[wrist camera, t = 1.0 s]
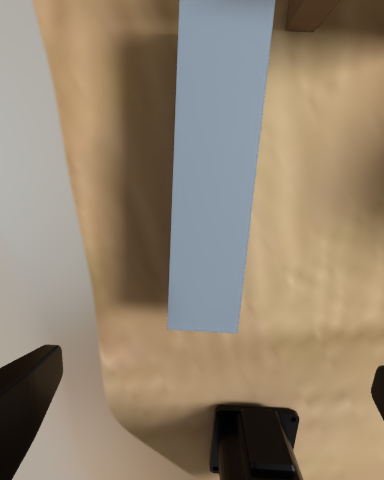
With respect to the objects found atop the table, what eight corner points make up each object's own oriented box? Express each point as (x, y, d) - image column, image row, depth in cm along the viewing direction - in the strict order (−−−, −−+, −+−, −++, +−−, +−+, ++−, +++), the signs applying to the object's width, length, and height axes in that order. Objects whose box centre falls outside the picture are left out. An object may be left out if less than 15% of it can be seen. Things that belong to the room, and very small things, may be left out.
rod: (228, 300, 19) (237, 333, 15) (172, 297, 19) (167, 329, 15) (254, 41, 15) (276, -5, 11) (183, 37, 15) (179, -10, 11)
